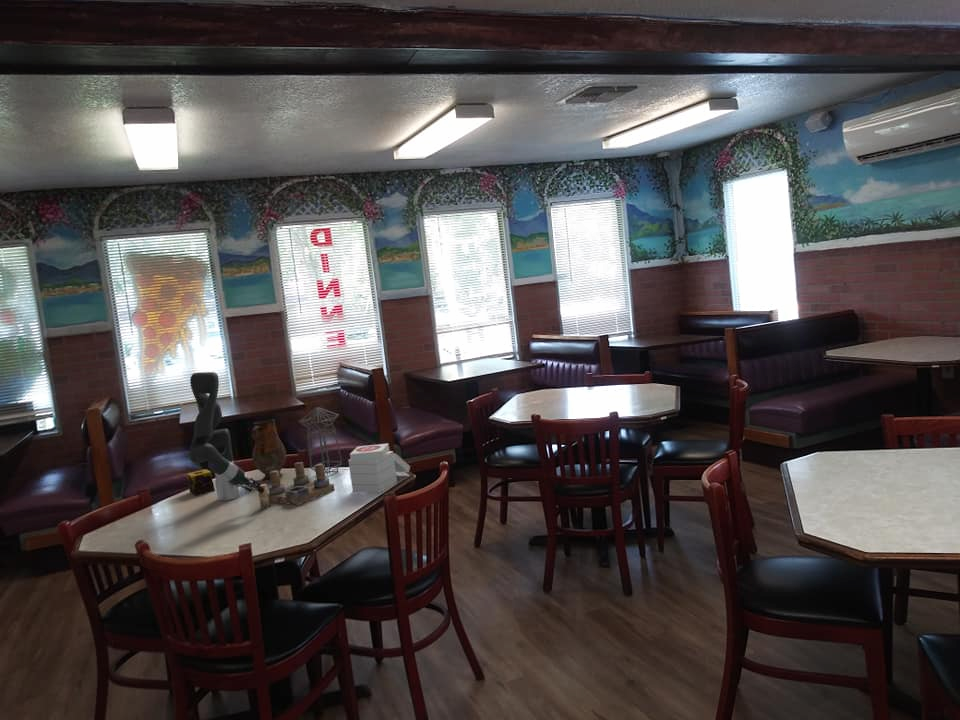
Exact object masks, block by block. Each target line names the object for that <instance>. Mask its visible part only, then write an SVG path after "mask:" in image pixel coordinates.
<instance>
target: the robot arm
mask: <svg viewBox="0 0 960 720" xmlns="http://www.w3.org/2000/svg"><path fill="white" fill-rule="evenodd" d="M189 380H190V381H189V382H190V388H191V392H192V393H193V396H194V399H195V402H196V404H197V408H198V409H197V410H198V414H197V415H196V418H195V419H194V420H195V421H194V430H193V433H194V435H193V437H192V440H191V443H190V446H189V451H188V457H189V459H190V461H191V462H192V463H193V464H201V463H204V462H208V463H207V467H208V468H209V471H211V472H213V473H214V476H215V480H214V481H215V488H216V489H215V490H216V495H217V499H218V500H219V501H221V502H222V501H223V502H224V501H230V500H231V499H232V500H235V499H237V498H239V497H240V493H239V488H240V489H244V490H246V491H247V492H249V493H251V492H252V491H253V490H254V491H257V493H259V492H260V493H263V492H264V488H262V487H261V486H260V485H262V484H261V483H260V482H258V481H256V479H254V478H252V477H249V476H246V473H245V471H244V470H243V469H242V468H240V467H239V466H238V465H237V464H235V462H234V461H235V460H234V456H233V449H232V448H233V447H232V439H231V434H230V430H229V429H228V428H221V429H216V428H217V427H218V425H219V424H220V423H221V421H222V418H223V414H222V409H221V406H220V403H219V402H218V401H217V399H218V393H219V387H220V385H219V383H220V381H219V376H218V373H216V372H215V371H209V372H208V371H205V372H203V371H202V372H201V371H200V372H194V373H192V374H191V376H190V379H189ZM223 449H224V450H223ZM220 450H223V452H222V453H220V452H219V451H220Z"/></svg>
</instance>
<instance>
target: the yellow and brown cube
mask: <svg viewBox="0 0 960 720" xmlns="http://www.w3.org/2000/svg"><path fill="white" fill-rule="evenodd" d="M186 477H187V482H188V489H189V493H190V494H191V495H193V496H195V497H196V496H199V495H202V494H203V495H204V494H206V493H211V492H214V490H216V489H215V485H214V482H213V474H212V470H210V469H209V470H208V469H207V468H205V469H201V470H197V471H193V472H189V473H186ZM210 491H211V492H210Z"/></svg>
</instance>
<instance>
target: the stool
mask: <svg viewBox="0 0 960 720" xmlns="http://www.w3.org/2000/svg"><path fill="white" fill-rule="evenodd" d="M324 465H325V464H324ZM324 465H323V463H322V464H319V463H317V464H314V466H315V467H314V469H315V471H314V472H315V477H316V479H313V481H310V478H309V475H306V473H305V467H304V462H303V461H300V462H296V463H294V471H295V477H293V484H291V485H287V486H285V484H282V483H281V478H280V477H279V471H271V472H270V479H271V480H270V485H271V486H269V487H268V495H269V502H270V501H274V502H273V503H277V502H281V503H280V504H284V503H289V504H288V505H291V504H296V505H295V506H299V505H298V504H300V503H302V504H304V503H303V502H305V501H307V500H310V499H312V500H314V499H313V498H315V497H317V498H319V497H318V496H320V497H322V496H324V495H323V494H325V495H327V494H329V492H330V493H331V491H332V492H333V491H335V484H334V483H330V478H329V477H327V476H326V473H325V471H324ZM326 493H327V494H326ZM321 495H322V496H321ZM315 499H316V498H315ZM310 501H311V500H310ZM307 502H308V501H307ZM305 503H306V502H305ZM300 505H301V504H300Z"/></svg>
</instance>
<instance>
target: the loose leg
mask: <svg viewBox="0 0 960 720" xmlns="http://www.w3.org/2000/svg"><path fill="white" fill-rule="evenodd" d="M260 486H261V487H262V488H264V492H263V493H260V492H258V498H259V504H260V509H261V508H265V509H268V508H267V507H269V508H271V502H270V501H269V495H268V494H269V488H268V484H266V483H263V484H261V485H260Z"/></svg>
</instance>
